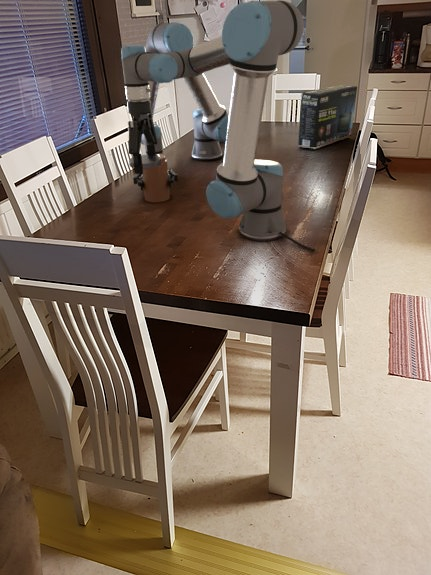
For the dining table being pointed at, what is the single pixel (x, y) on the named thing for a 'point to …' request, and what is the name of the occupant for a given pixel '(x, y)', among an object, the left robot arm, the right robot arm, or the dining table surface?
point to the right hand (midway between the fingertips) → (146, 168)
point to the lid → (147, 161)
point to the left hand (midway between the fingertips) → (155, 185)
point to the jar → (156, 182)
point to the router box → (326, 115)
